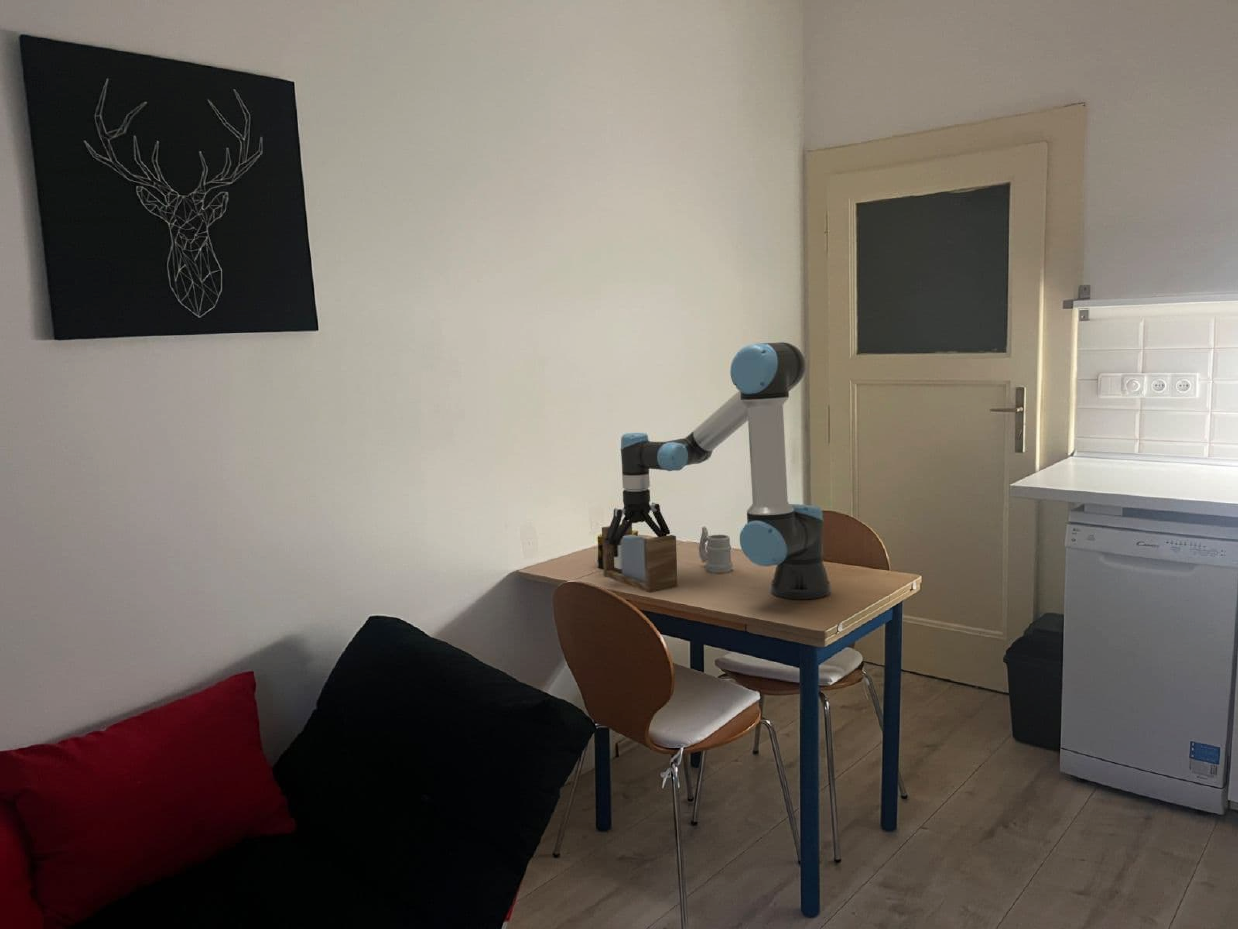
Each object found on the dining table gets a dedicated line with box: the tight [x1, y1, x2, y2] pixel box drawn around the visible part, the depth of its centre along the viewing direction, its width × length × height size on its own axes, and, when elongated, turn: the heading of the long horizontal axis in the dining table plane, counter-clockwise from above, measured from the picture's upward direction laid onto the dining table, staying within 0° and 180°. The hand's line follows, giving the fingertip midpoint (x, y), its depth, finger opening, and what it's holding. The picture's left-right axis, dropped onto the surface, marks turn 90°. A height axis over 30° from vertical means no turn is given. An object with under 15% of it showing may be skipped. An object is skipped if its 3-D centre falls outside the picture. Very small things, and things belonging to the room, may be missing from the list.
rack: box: [601, 524, 679, 593], centre depth 257 cm, size 24×9×14 cm, turn 32°
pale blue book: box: [621, 535, 647, 583], centre depth 257 cm, size 12×4×12 cm, turn 32°
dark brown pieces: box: [597, 530, 639, 570], centre depth 276 cm, size 10×10×10 cm
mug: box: [698, 526, 734, 574], centre depth 267 cm, size 8×12×12 cm, turn 38°
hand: (638, 564), depth 257 cm, fingers open, 13 cm apart
